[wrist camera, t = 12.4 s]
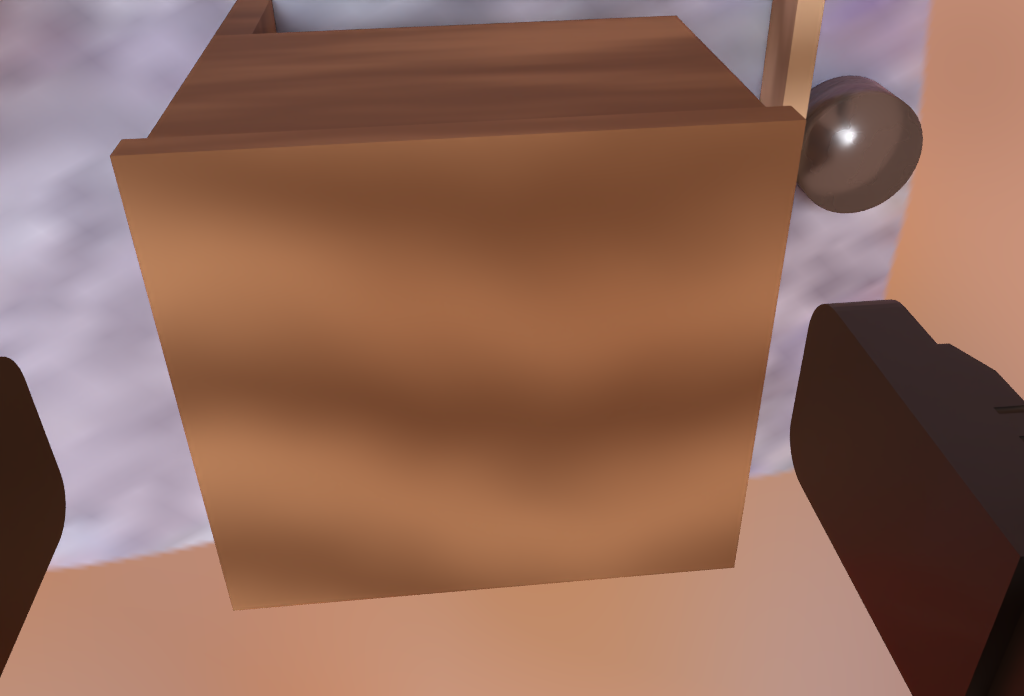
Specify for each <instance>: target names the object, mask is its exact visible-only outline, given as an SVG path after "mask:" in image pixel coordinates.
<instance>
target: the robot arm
mask: <svg viewBox="0 0 1024 696" xmlns="http://www.w3.org/2000/svg"><path fill="white" fill-rule="evenodd" d="M790 447H791V455H792V460H793V465H794V469H795V472H796V475H797V478H798V480H799V482H800V484H801V486H802V488H803V490H804V492H805V494H806V496H807V497H808V500H809V501H810V503H811V505H812V507H813V509H814V511H815V513H816V515H817V516H818V518H819V520H820V522H821V524H822V526H823V528H824V530H825V531H826V533H827V535H828V537H829V539H830V541H831V543H832V544H833V546H834V548H835V550H836V552H837V554H838V556H839V558H840V560H841V562H842V564H843V566H844V567H845V569H846V571H847V573H848V575H849V577H850V578H851V581H852V582H853V584H854V586H855V588H856V590H857V592H858V594H859V596H860V598H861V599H862V601H863V603H864V605H865V607H866V609H867V611H868V613H869V614H870V616H871V618H872V620H873V622H874V624H875V626H876V627H877V630H878V632H879V633H880V635H881V637H882V639H883V641H884V643H885V644H886V647H887V648H888V650H889V652H890V654H891V656H892V658H893V660H894V662H895V664H896V665H897V667H898V669H899V671H900V673H901V675H902V677H903V678H904V681H905V682H906V684H907V686H908V688H909V690H910V692H911V694H912V696H1024V400H1023V399H1022V398H1021V397H1020V396H1019V395H1018V394H1017V393H1016V392H1015V391H1014V390H1013V389H1012V388H1011V387H1010V385H1009V384H1008V383H1007V382H1006V381H1005V380H1004V379H1003V378H1002V377H1001V376H1000V375H999V374H998V373H997V372H996V371H995V370H993V369H992V368H990V367H988V366H987V365H985V364H983V363H982V362H980V361H978V360H976V359H975V358H973V357H971V356H970V355H968V354H966V353H965V352H963V351H961V350H959V349H958V348H956V347H954V346H952V345H951V344H937V343H936V342H935V341H934V340H933V339H932V338H931V336H930V335H929V334H928V333H927V332H926V331H925V330H924V329H923V327H922V326H921V325H920V324H919V323H918V322H917V321H916V319H915V318H914V317H913V316H912V315H911V314H910V313H909V312H908V310H907V309H906V308H905V307H904V306H903V305H902V304H901V303H900V302H898V301H896V300H877V301H862V302H847V303H832V304H822V305H820V306H818V307H817V308H816V310H815V311H814V313H813V315H812V317H811V320H810V324H809V328H808V333H807V338H806V344H805V349H804V355H803V360H802V365H801V371H800V376H799V381H798V387H797V392H796V398H795V403H794V408H793V414H792V419H791V426H790ZM65 510H66V501H65V490H64V484H63V480H62V477H61V473H60V471H59V468H58V465H57V463H56V460H55V457H54V455H53V452H52V449H51V447H50V444H49V442H48V439H47V436H46V434H45V431H44V428H43V426H42V423H41V420H40V418H39V415H38V412H37V410H36V407H35V405H34V402H33V399H32V397H31V394H30V391H29V389H28V386H27V383H26V381H25V378H24V376H23V374H22V372H21V370H20V368H19V367H18V366H17V364H16V363H15V362H14V361H13V360H11V359H10V358H7V357H0V677H1V674H2V672H3V669H4V667H5V665H6V663H7V660H8V658H9V656H10V653H11V651H12V649H13V646H14V644H15V642H16V640H17V637H18V635H19V633H20V630H21V628H22V626H23V623H24V621H25V619H26V617H27V614H28V612H29V610H30V607H31V605H32V603H33V601H34V598H35V596H36V594H37V591H38V589H39V587H40V584H41V582H42V580H43V578H44V575H45V573H46V571H47V568H48V566H49V564H50V561H51V559H52V557H53V554H54V552H55V550H56V548H57V545H58V543H59V541H60V538H61V535H62V531H63V527H64V521H65Z"/></svg>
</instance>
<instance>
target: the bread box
mask: <svg viewBox="0 0 1024 696" xmlns="http://www.w3.org/2000/svg"><path fill="white" fill-rule="evenodd" d="M805 125H806V119H805V118H804V117H803V116H802V115H801V114H800V113H799V112H797V111H796V110H795V109H794V108H793V107H792V106H774V107H766V106H765V105H764V104H763V103H762V102H761V101H760V100H759V99H758V98H757V97H756V96H755V95H754V94H753V93H752V92H751V91H750V90H749V89H748V88H747V87H746V86H745V85H744V84H743V83H742V82H741V81H740V80H739V79H738V78H737V77H736V76H735V75H734V74H733V73H732V72H731V71H730V70H729V69H728V68H727V67H726V66H725V65H724V64H723V63H722V62H721V61H720V60H719V59H718V58H717V57H716V56H715V55H714V54H713V53H712V52H711V51H710V50H709V49H708V48H707V46H706V45H705V44H704V43H703V42H702V41H701V40H700V39H699V38H698V37H697V36H696V35H695V34H694V33H693V32H692V31H691V30H690V29H689V28H688V27H687V26H686V25H685V24H684V23H683V22H682V21H681V20H680V19H679V18H678V17H677V16H656V17H633V18H610V19H587V20H564V21H541V22H518V23H495V24H472V25H449V26H425V27H402V28H379V29H356V30H333V31H310V32H287V33H277V32H276V26H275V19H274V13H273V6H272V0H237V1H236V3H235V4H234V6H233V7H232V9H231V10H230V12H229V13H228V15H227V17H226V18H225V20H224V21H223V23H222V24H221V26H220V27H219V29H218V30H217V32H216V33H215V35H214V36H213V38H212V39H211V41H210V43H209V44H208V46H207V47H206V49H205V50H204V52H203V53H202V55H201V56H200V58H199V59H198V61H197V62H196V64H195V65H194V67H193V69H192V70H191V72H190V73H189V75H188V76H187V78H186V79H185V81H184V82H183V84H182V85H181V87H180V88H179V90H178V92H177V93H176V95H175V96H174V98H173V99H172V101H171V102H170V104H169V105H168V107H167V108H166V110H165V111H164V113H163V114H162V116H161V118H160V119H159V121H158V122H157V124H156V125H155V127H154V128H153V130H152V131H151V133H150V134H149V136H148V137H147V138H142V139H123V140H121V141H120V143H119V144H118V145H117V147H116V148H115V150H114V151H113V152H112V154H111V155H110V158H111V162H112V166H113V169H114V173H115V177H116V180H117V184H118V188H119V191H120V195H121V199H122V202H123V206H124V210H125V214H126V217H127V221H128V225H129V228H130V232H131V236H132V239H133V243H134V247H135V250H136V254H137V258H138V261H139V265H140V269H141V272H142V276H143V280H144V284H145V287H146V291H147V295H148V298H149V302H150V306H151V309H152V313H153V317H154V320H155V324H156V328H157V331H158V335H159V339H160V342H161V346H162V350H163V354H164V357H165V361H166V365H167V368H168V372H169V376H170V379H171V383H172V387H173V390H174V394H175V398H176V401H177V405H178V409H179V412H180V416H181V420H182V424H183V427H184V431H185V435H186V438H187V442H188V446H189V449H190V453H191V457H192V460H193V464H194V468H195V471H196V475H197V479H198V482H199V486H200V490H201V494H202V497H203V501H204V505H205V508H206V512H207V516H208V519H209V523H210V527H211V530H212V534H213V538H214V541H215V545H216V548H217V552H218V556H219V560H220V564H221V567H222V571H223V575H224V578H225V582H226V586H227V589H228V593H229V596H230V600H231V604H232V607H233V610H245V609H257V608H268V607H280V606H292V605H303V604H315V603H326V602H338V601H350V600H361V599H373V598H385V597H396V596H408V595H420V594H431V593H442V592H455V591H466V590H477V589H490V588H501V587H512V586H525V585H536V584H548V583H560V582H570V581H583V580H594V579H606V578H618V577H630V576H641V575H653V574H664V573H675V572H688V571H699V570H711V569H723V568H734V563H735V558H736V551H737V546H738V540H739V534H740V527H741V521H742V514H743V509H744V503H745V496H746V490H747V484H748V478H749V472H750V466H751V459H752V453H753V447H754V441H755V435H756V428H757V422H758V416H759V410H760V404H761V397H762V391H763V385H764V379H765V373H766V367H767V360H768V354H769V348H770V342H771V336H772V329H773V323H774V317H775V311H776V305H777V299H778V292H779V286H780V280H781V274H782V268H783V261H784V255H785V249H786V243H787V237H788V231H789V224H790V218H791V212H792V206H793V200H794V193H795V187H796V181H797V175H798V169H799V163H800V156H801V150H802V144H803V138H804V132H805Z"/></svg>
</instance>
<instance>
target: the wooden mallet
mask: <svg viewBox="0 0 1024 696" xmlns="http://www.w3.org/2000/svg"><path fill="white" fill-rule="evenodd" d="M824 3H825V0H773V2H772V9H771V17H770V25H769V33H768V40H767V48H766V56H765V63H764V71H763V79H762V86H761V94H760V101H761V102H762V103H763V104H764V105H765V106H766V107H774V106H792V107H793V108H794V109H795V110H796V111H797V112H799V113H800V114H801V115H802V116H803V117H804V118H805V119H806V116H807V110H808V103H809V97H810V91H811V85H812V78H813V72H814V66H815V60H816V53H817V47H818V41H819V35H820V28H821V22H822V16H823V10H824Z"/></svg>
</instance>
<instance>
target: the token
mask: <svg viewBox="0 0 1024 696" xmlns="http://www.w3.org/2000/svg"><path fill="white" fill-rule="evenodd" d="M922 141H923V136H922V129H921V124H920V122H919V119H918V117H917V115H916V114H915V112H914V111H913V110H912V109H911V108H910V106H908V105H907V104H906V103H905V102H903V101H902V100H901V99H899V98H898V97H896V96H895V95H894V94H892V93H891V92H889V91H888V90H887V89H885V88H884V87H883V86H881V85H880V84H878V83H877V82H875V81H873V80H871V79H868V78H865V77H861V76H841V77H837V78H833V79H830V80H827V81H825V82H823V83H821V84H819V85H817V86H815V87H814V88H812V89H811V91H810V97H809V103H808V110H807V116H806V125H805V132H804V138H803V144H802V150H801V156H800V163H799V169H798V175H797V181H796V183H797V185H798V186H799V187H800V188H801V189H802V190H803V191H804V192H805V194H806V195H807V196H808V197H809V198H810V199H811V200H812V201H813V202H814V203H815V204H817V205H818V206H820V207H822V208H824V209H826V210H829V211H832V212H837V213H855V212H860V211H864V210H867V209H870V208H873V207H875V206H877V205H879V204H881V203H883V202H884V201H886V200H887V199H889V198H890V197H891V196H893V195H894V194H895V193H896V192H897V191H898V190H900V189H901V187H902V186H903V185H904V184H905V183H906V182H907V180H908V179H909V178H910V176H911V175H912V173H913V171H914V170H915V168H916V165H917V163H918V161H919V158H920V155H921V150H922Z"/></svg>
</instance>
